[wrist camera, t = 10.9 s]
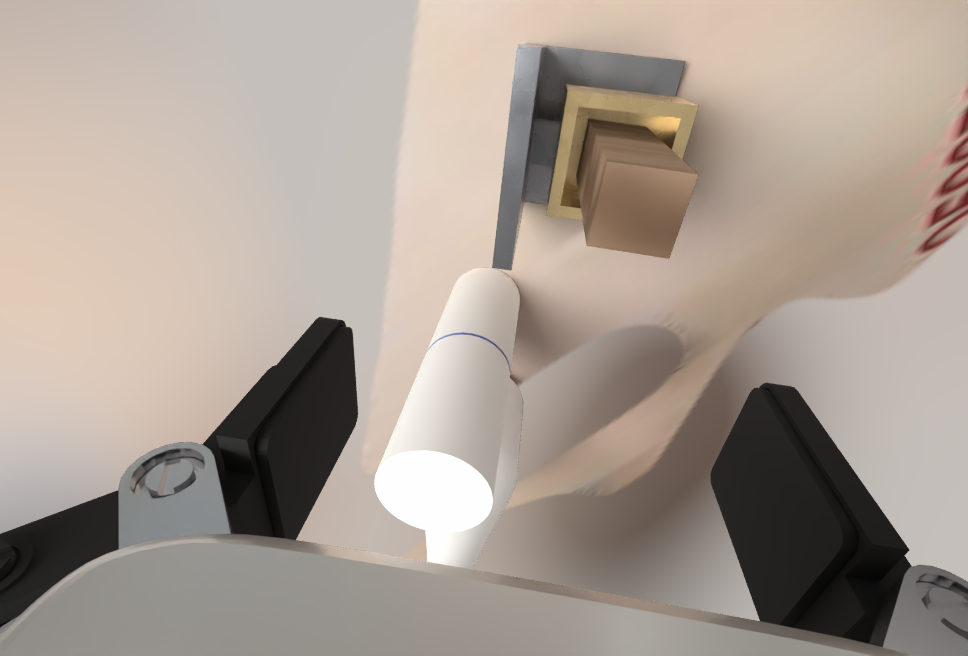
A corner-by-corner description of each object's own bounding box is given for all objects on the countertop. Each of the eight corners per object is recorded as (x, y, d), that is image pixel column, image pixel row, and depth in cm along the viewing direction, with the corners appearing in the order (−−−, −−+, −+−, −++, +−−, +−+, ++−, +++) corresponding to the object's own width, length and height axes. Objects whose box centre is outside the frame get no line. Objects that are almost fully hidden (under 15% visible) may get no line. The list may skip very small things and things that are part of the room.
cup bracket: (526, 43, 37) (509, 43, 23) (681, 60, 36) (759, 71, 22) (508, 195, 43) (485, 266, 29) (639, 212, 42) (679, 294, 29)
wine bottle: (450, 355, 53) (354, 640, 28) (532, 373, 53) (510, 676, 28) (439, 416, 58) (350, 704, 33) (514, 433, 58) (482, 735, 33)
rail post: (588, 118, 33) (607, 161, 21) (646, 126, 32) (698, 174, 21) (575, 176, 35) (586, 245, 23) (630, 184, 35) (669, 258, 23)
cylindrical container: (533, 290, 48) (515, 487, 27) (498, 339, 51) (457, 547, 30) (472, 254, 47) (403, 431, 25) (440, 307, 50) (357, 500, 29)
